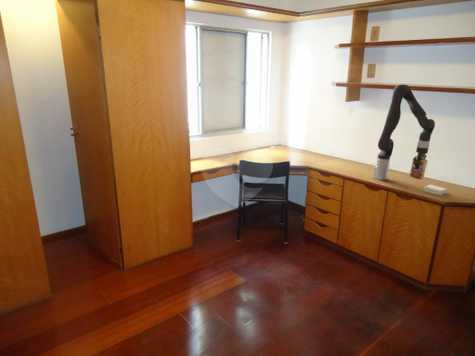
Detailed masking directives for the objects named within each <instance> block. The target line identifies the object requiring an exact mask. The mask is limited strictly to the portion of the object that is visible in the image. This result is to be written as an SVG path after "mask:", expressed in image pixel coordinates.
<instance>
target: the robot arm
mask: <svg viewBox="0 0 475 356" xmlns="http://www.w3.org/2000/svg"><path fill="white" fill-rule="evenodd" d="M403 99H404V100H405V101H406V102H407V104H408V106H409V109H410V112H411V114H413V116H414V117H415V118H416V120H417V123H418V125H419V127H421V129H423V130H422V131H421V132H420V134H419V138H418V142H417V145H416V150H415V152H416V153H417V155H416V156H414V157H415V164H416V166H415V169H417V170H418V169H419V164H420V162H421V160H422V159H425V160H427V159H426V158H427V156H428V155H427V154H428V152H429V148H430V142H431V136H432V135H433V132H434V130H435V126H436V122H435V120H434V119H432V118H428V116H427V113H426V111H425V109H424V108H423V107H422V105H421V104H420V103H419V101H418V99H416V97H415V95H414V94H413V91H412V89H411V87H410V86H409V85H408V84H398V85H396V86H395V87H394V89H393V92H392V97H391V102H390V106H389V109H388V112H387V116H386V120H385V123H384V126H383V129H382V132H381V135H380V137H379V140H378V142H377V147H378V149H379V150H380V151H379V153H378V154H377V161H376V166H374V172H373V178H374V179H376V180H379V181H386V180H387V179H388V173H389V167H390V160H391V156H392V154H393V150H394V144H395V143H394V140H393V139H392V138H391V136H392V134H393V132H395V129H396V128H397V127H398V124H399V122H400V119H401V115H402V112H401V111H402V110H401V104H402V102H403ZM419 160H420V161H419Z"/></svg>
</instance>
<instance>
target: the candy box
mask: <svg viewBox="0 0 475 356" xmlns="http://www.w3.org/2000/svg"><path fill="white" fill-rule="evenodd" d="M419 161H420V160H419ZM427 164H428V159H422V160H421V162H420V164H419V169H418V170H417V169H415V166H416V164H415V156H414V157H413V158H412V163H411V169H410V172H409V177H410V178H413V179H417V180H419V181H421V180H424V178H425V172H426V169H427Z"/></svg>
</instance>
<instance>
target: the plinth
mask: <svg viewBox="0 0 475 356" xmlns="http://www.w3.org/2000/svg"><path fill="white" fill-rule="evenodd" d="M422 189H423V190H422V191H423V192H426V193H430V194H433V195H437V196H442V195H444V194H447V188H445V187H442V186H441V187H440V186H436V185H433V184H428V185H425V186H424V187H423V188H422Z"/></svg>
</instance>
